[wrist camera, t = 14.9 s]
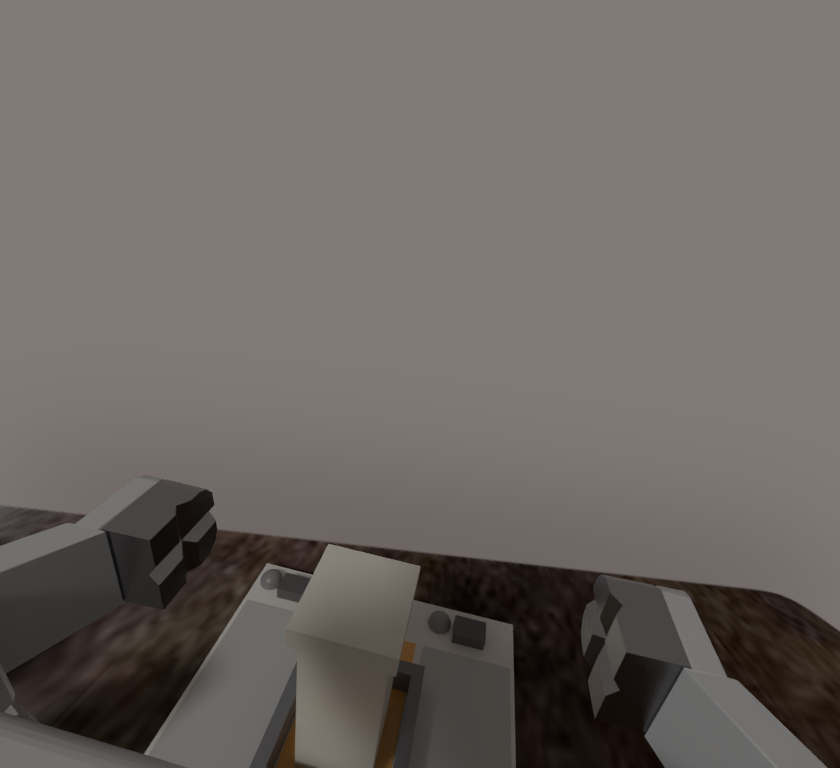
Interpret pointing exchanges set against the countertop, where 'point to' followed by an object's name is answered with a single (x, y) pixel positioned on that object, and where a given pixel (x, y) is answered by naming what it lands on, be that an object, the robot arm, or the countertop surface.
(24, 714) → the food container
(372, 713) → the plug
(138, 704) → the countertop surface
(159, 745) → the board
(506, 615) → the countertop surface
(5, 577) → the robot arm
